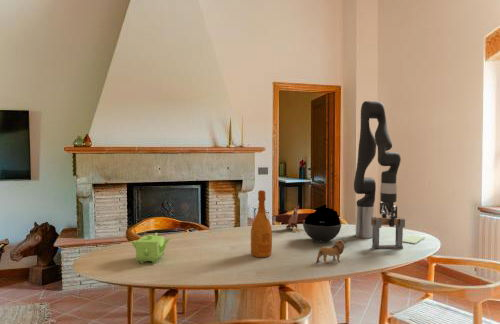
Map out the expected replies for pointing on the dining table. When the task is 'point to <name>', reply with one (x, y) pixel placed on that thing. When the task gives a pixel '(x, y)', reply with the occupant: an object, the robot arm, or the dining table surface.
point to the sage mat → (412, 239)
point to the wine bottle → (261, 230)
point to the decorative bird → (291, 218)
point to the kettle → (150, 248)
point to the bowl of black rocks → (322, 224)
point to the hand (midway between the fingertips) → (387, 224)
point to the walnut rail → (386, 221)
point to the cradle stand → (398, 235)
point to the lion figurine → (331, 251)
